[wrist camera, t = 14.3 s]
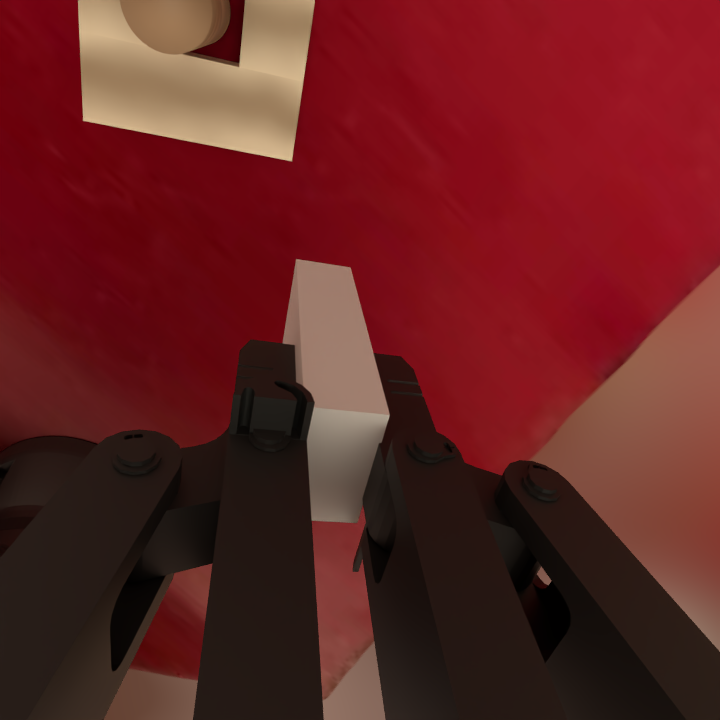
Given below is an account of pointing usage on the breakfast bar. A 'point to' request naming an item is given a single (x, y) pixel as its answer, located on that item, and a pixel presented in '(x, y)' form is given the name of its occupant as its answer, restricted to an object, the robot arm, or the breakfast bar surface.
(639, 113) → the breakfast bar surface
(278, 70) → the board
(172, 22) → the peg
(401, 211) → the breakfast bar surface
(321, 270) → the robot arm
